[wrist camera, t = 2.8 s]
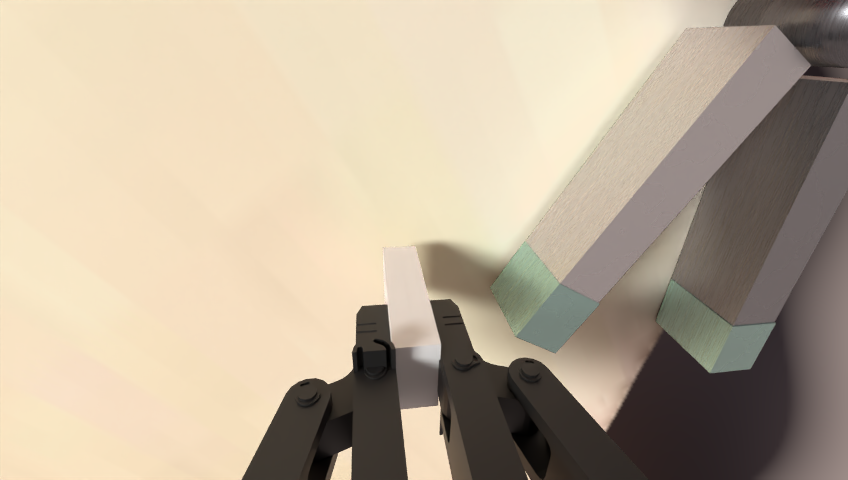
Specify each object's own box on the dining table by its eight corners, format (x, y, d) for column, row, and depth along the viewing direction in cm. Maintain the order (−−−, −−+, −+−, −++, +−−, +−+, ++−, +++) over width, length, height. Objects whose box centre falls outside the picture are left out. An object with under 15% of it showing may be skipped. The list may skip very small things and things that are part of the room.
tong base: (737, -17, 16) (898, -43, 11) (829, -13, 17) (1019, -35, 12) (625, 323, 24) (690, 392, 20) (690, 317, 25) (768, 384, 20)
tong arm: (685, 27, 16) (775, 24, 13) (719, 60, 17) (813, 66, 14) (489, 286, 21) (515, 336, 18) (524, 302, 22) (555, 353, 18)
